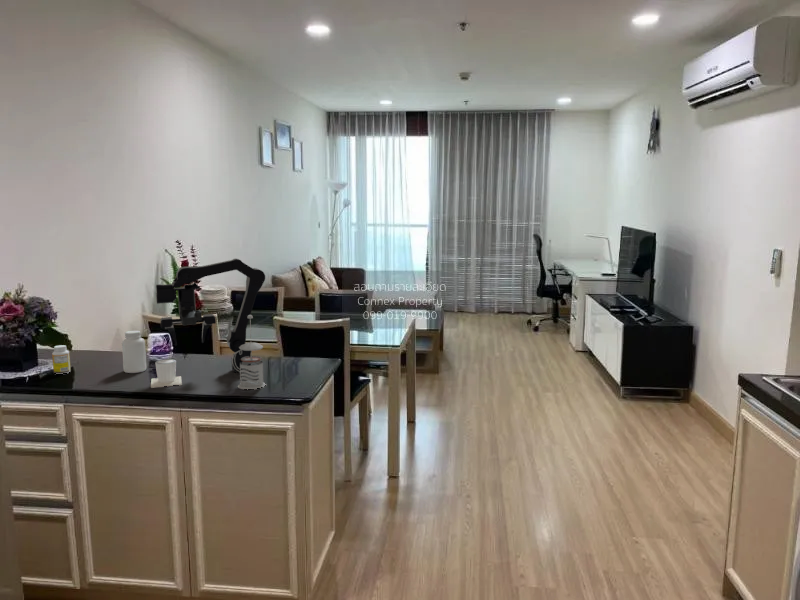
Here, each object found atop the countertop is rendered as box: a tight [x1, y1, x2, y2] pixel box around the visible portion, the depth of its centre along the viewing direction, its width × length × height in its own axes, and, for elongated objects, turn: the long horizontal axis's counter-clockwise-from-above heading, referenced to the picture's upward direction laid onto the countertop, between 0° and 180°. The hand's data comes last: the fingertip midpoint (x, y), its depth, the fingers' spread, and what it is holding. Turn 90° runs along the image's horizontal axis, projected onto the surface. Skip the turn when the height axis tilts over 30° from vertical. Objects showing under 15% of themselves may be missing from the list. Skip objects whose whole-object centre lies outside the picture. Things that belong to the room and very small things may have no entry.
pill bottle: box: [121, 330, 147, 374], centre depth 227 cm, size 8×8×15 cm
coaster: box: [150, 375, 183, 389], centre depth 213 cm, size 10×10×1 cm
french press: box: [231, 314, 267, 391], centre depth 209 cm, size 10×12×25 cm
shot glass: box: [154, 358, 177, 383], centre depth 212 cm, size 7×7×7 cm
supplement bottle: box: [51, 344, 71, 375], centre depth 223 cm, size 6×6×10 cm
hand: (189, 343), depth 222 cm, fingers open, 9 cm apart
